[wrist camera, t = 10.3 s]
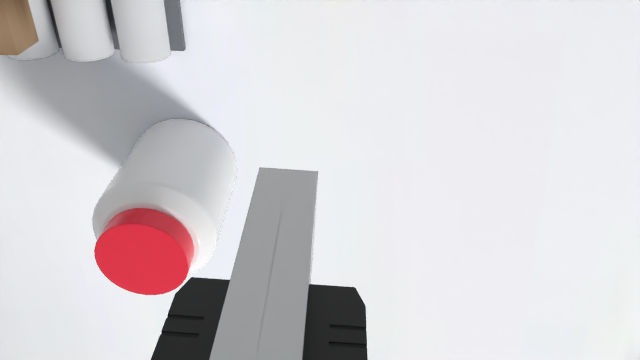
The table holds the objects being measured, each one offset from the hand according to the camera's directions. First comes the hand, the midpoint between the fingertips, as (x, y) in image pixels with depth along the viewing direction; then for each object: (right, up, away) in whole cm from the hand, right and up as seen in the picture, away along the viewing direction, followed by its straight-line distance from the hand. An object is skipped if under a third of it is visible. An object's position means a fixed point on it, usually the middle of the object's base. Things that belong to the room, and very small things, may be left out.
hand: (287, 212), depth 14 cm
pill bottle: (-9, +2, +26) cm, 28 cm away
